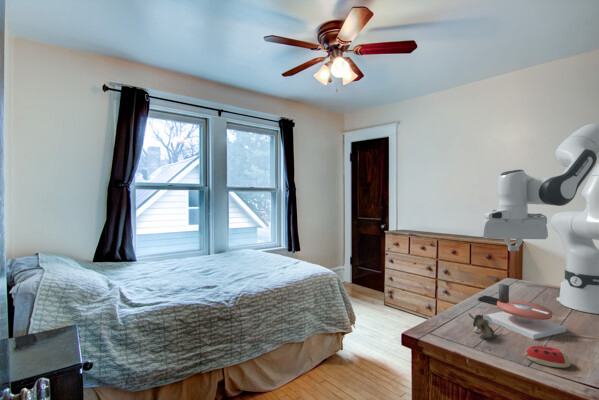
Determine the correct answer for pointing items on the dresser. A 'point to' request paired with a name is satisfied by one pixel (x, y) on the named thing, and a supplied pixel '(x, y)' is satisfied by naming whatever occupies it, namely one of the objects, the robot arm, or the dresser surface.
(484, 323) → the eagle figurine
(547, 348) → the ladybug figurine
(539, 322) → the square base plate
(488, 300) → the phone
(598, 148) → the robot arm
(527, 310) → the handwheel
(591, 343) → the dresser surface
